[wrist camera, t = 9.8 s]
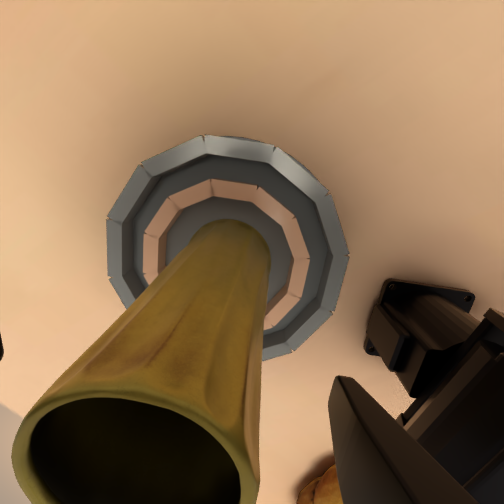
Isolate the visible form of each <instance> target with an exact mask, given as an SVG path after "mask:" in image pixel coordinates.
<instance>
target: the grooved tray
mask: <svg viewBox="0 0 504 504" xmlns="http://www.w3.org/2000/svg"><path fill="white" fill-rule="evenodd" d="M141 163H142V165H138V166H137V168H136V170H135V171H134V173H133V175H132V176H131V178H130V180H129V181H128V183H127V184H126V186H125V188H124V189H123V191H122V193H121V194H120V196H119V198H118V199H117V201H116V203H115V204H114V206H113V207H112V209H111V211H110V212H109V214H108V217H109V219H106V224H107V265H108V276H110V277H111V278H110V279H109V281H110V282H111V284H112V286H113V287H114V289H115V291H116V292H117V294H118V296H119V297H120V299H121V301H122V303H123V304H124V306H125V308H126V309H128V308H129V307H130V306H131V305H132V304H133V302H134V301H135V300H136V299H137V298H138V297H139V296H140V295H141V294H142V293H143V292H144V291H145V289H146V288H147V287H148V286H149V285H150V284H151V283H152V282H153V281H154V279H155V278H156V277H157V276H158V275H159V274H160V273H161V272H162V271H163V270H164V269H165V268H166V267H167V266H168V265H169V263H170V262H171V261H172V260H173V259H174V258H175V257H176V255H177V254H178V253H179V252H180V251H181V250H183V249H184V248H185V247H186V246H187V245H188V244H189V241H190V240H191V238H192V237H193V235H194V234H195V233H196V232H197V231H198V230H199V229H200V228H201V227H202V226H204V225H206V224H207V223H210V222H212V221H215V220H220V219H233V220H238V221H241V222H244V223H246V224H248V225H250V226H252V227H253V228H255V229H256V230H257V231H258V232H259V233H260V234H261V235H262V237H263V238H264V240H265V241H266V243H267V245H268V247H269V250H270V256H271V271H270V274H269V286H268V293H267V305H266V311H265V316H264V331H263V350H262V361H265V360H268V359H272V358H275V357H279V356H282V355H286V354H289V353H292V350H293V351H295V350H296V349H297V348H298V347H299V346H300V345H301V344H302V343H303V342H304V341H306V340H307V339H308V338H309V337H310V336H311V335H312V334H313V333H314V332H315V331H316V330H317V329H318V328H319V327H320V326H321V325H322V324H323V323H324V322H325V321H326V320H327V319H328V318H329V317H330V316H331V315H332V314H333V313H332V311H335V308H336V304H337V300H338V297H339V293H340V289H341V286H342V282H343V278H344V275H345V271H346V268H347V264H348V260H349V256H348V255H347V254H349V251H348V248H347V244H346V241H345V238H344V235H343V231H342V228H341V225H340V222H339V218H338V215H337V212H336V208H335V205H334V202H333V199H332V195H331V194H329V193H328V192H329V191H328V190H327V189H326V188H325V187H324V186H323V185H322V184H320V183H319V181H318V180H317V179H316V177H315V176H314V175H313V174H312V173H311V172H310V171H309V170H308V169H307V168H306V167H305V166H304V165H302V164H301V163H300V162H298V161H297V160H296V159H294V158H293V157H292V156H290V155H289V154H287V153H285V152H283V151H282V150H281V149H280V148H279V147H277V148H276V147H274V145H271V144H266V143H263V142H260V141H257V140H252V139H248V138H243V137H233V136H212V135H205V137H204V136H202V135H200V136H198V137H196V138H193V139H191V140H189V141H187V142H185V143H182V144H180V145H178V146H176V147H174V148H171V149H169V150H167V151H165V152H163V153H160V154H158V155H156V156H154V157H152V158H149V159H147V160H145V161H143V162H141ZM291 349H292V350H291Z"/></svg>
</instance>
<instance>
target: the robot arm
mask: <svg viewBox="0 0 504 504" xmlns="http://www.w3.org/2000/svg"><path fill="white" fill-rule="evenodd" d="M391 284H394V286H393V287H392V288H389V287H390V285H391ZM466 296H467V298H466V299H464V298H465V297H466ZM474 300H475V295H474V294H473V293H471V292H470V291H467V290H462V289H456V288H449V287H443V286H436V285H430V284H423V283H417V282H411V281H404V280H398V279H388V280H386V281H385V283H384V285H383V288H382V291H381V294H380V297H379V300H378V303H377V304H376V305H375V306H374V309H373V312H372V315H371V319H370V322H369V325H368V328H367V331H366V333H367V337H366V340H365V343H364V349H365V351H366V353H367V354H369V355H375V356H381V358H382V360H383V361H384V363H385V365H386V366H387V368H388V369H389V370H390V371H391V372H395V373H396V375H397V377H398V378H399V380H400V381H401V383H402V385H403V386H404V388H405V389H406V391H407V392H408V394H409V396H410V397H412V398H416V399H415V401H414V402H413V403H412V404H411V405H410V407H409V408H408V409H407V410H406V411H405V412H404V413H401V414H400V415H399V416H398V417H397V419H396V420H395V419H394V418H393V417H392V416H391V415H390V414H389V413H388V412H387V411H386V410H385V409H384V408H383V407H382V406H381V405H380V404H379V403H378V402H377V401H376V400H375V399H374V398H373V397H372V396H371V395H370V394H369V393H368V392H367V391H366V390H365V389H364V388H363V387H362V386H361V385H360V384H359V383H358V382H356V381H355V380H354V379H353V378H351V377H347V376H340V375H338V376H336V377H335V379H334V382H333V386H332V389H331V393H330V396H329V401H328V411H329V418H330V426H331V434H332V442H333V449H334V457H335V465H336V472H337V478H338V483H339V488H340V492H341V497H342V501H343V504H504V314H503V313H501V312H499V311H496V310H494V309H492V308H489V310H488V311H487V312H486V313H485V314H484V315H483V316H484V317H485V318H484V319H483V320H482V322H479V321H478V320H476V319H475V318H474V317H472V316H471V315H469V314H468V313H469V311H470V309H471V307H472V305H473V302H474ZM370 347H373V348H371V349H369V348H370ZM3 354H4V349H3V344H2V339H1V334H0V361H1V359H2V357H3Z"/></svg>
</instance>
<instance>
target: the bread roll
mask: <svg viewBox="0 0 504 504" xmlns="http://www.w3.org/2000/svg"><path fill="white" fill-rule="evenodd" d="M297 504H343V501H342V497H341V492H340V488H339V483H338V478H337V472H336V465H335V464H334V465H333V466H331V467H330V468H329V469H328V470H327V471H326V472H325V473H324V475H323V476H322V477H318V478H316V479H314V480H313V481H312V482H311V483H309V484H308V485H307V486H306V487H305V488H304V489H303V490H302V491H301V492H300V493H299V496H298V501H297Z"/></svg>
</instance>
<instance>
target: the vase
mask: <svg viewBox="0 0 504 504" xmlns="http://www.w3.org/2000/svg"><path fill="white" fill-rule="evenodd" d="M270 271H271V256H270V250H269V247H268V245H267V243H266V241H265V240H264V238H263V237H262V235H261V234H260V233H259V232H258V231H257V230H256V229H255V228H253V227H252V226H250V225H248V224H246V223H244V222H241V221H238V220H233V219H220V220H215V221H212V222H210V223H207V224H206V225H204V226H202V227H201V228H200V229H199V230H198V231H197V232H196V233H195V234H194V235H193V237H192V238H191V240H190V241H189V244H188V245H187V246H186V247H185V248H184V249H183V250H181V251H180V252H179V253H178V254H177V255H176V257H175V258H174V259H173V260H172V261H171V262H170V263H169V265H168V266H167V267H166V268H165V269H164V270H163V271H162V272H161V273H160V274H159V275H158V276H157V277H156V278H155V279H154V281H153V282H152V283H151V284H150V285H149V286H148V287H147V288H146V289H145V291H144V292H143V293H142V294H141V295H140V296H139V297H138V298H137V299H136V300H135V301H134V302H133V304H132V305H131V306H130V307H129V308H128V309H127V310H126V311H125V312H124V313H123V314H122V315H121V316H120V317H119V318H118V319H117V320H116V321H115V322H114V323H113V324H112V325H111V326H110V327H109V328H108V329H107V330H106V331H105V332H104V333H103V334H102V335H101V337H100V338H99V339H98V340H96V341H95V342H94V343H93V344H92V345H91V346H90V347H89V348H88V349H87V350H86V351H85V352H84V353H83V354H82V355H81V356H80V357H79V358H78V359H77V360H76V361H75V362H74V363H73V364H72V365H71V366H70V367H69V368H68V369H67V370H66V371H65V372H64V373H63V374H62V375H61V376H60V377H59V378H58V379H57V380H56V381H55V382H54V383H53V385H52V386H51V387H50V388H49V389H48V390H47V391H46V392H45V393H44V394H43V396H42V397H41V398H40V399H39V400H38V401H37V402H36V403H35V405H34V406H33V407H32V408H31V410H30V411H29V412H28V413H27V415H26V416H25V418H24V419H23V421H22V423H21V425H20V427H19V429H18V432H17V434H16V436H15V440H14V443H13V447H12V456H11V458H12V464H13V469H14V473H15V476H16V479H17V481H18V483H19V485H20V487H21V488H22V490H23V492H24V493H25V495H26V496H27V497H28V499H29V500H30V501H31V503H32V504H256V500H257V496H258V492H259V485H260V466H259V422H260V400H261V364H262V350H263V331H264V316H265V311H266V305H267V293H268V286H269V274H270Z"/></svg>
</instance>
